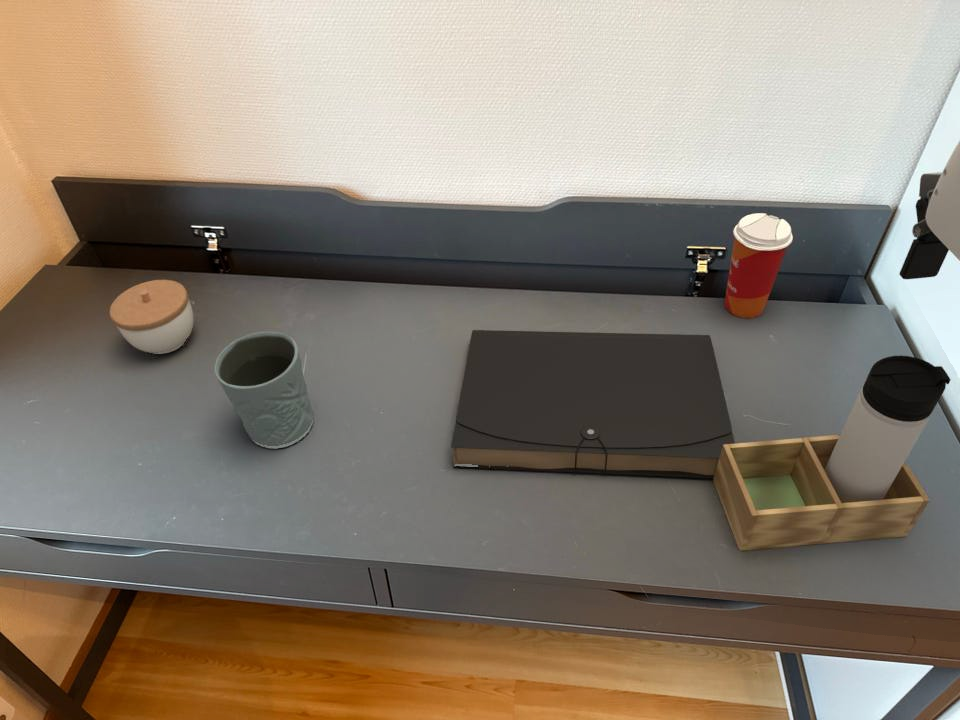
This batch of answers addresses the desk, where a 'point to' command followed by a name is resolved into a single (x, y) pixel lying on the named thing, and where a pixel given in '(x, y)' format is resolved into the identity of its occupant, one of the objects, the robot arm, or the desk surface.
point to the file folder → (592, 404)
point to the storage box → (805, 497)
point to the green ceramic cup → (266, 386)
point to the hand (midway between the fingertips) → (946, 310)
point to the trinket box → (154, 315)
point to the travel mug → (884, 426)
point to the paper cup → (755, 262)
